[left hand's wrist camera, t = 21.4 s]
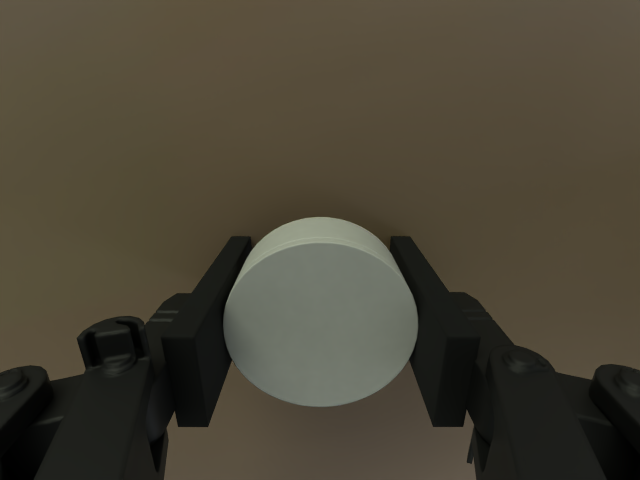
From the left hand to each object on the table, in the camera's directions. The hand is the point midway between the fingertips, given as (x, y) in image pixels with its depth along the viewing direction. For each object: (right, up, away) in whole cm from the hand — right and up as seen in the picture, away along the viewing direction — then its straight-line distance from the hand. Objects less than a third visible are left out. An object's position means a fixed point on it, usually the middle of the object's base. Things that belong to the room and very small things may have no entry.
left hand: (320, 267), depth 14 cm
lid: (0, -1, -4) cm, 4 cm away
